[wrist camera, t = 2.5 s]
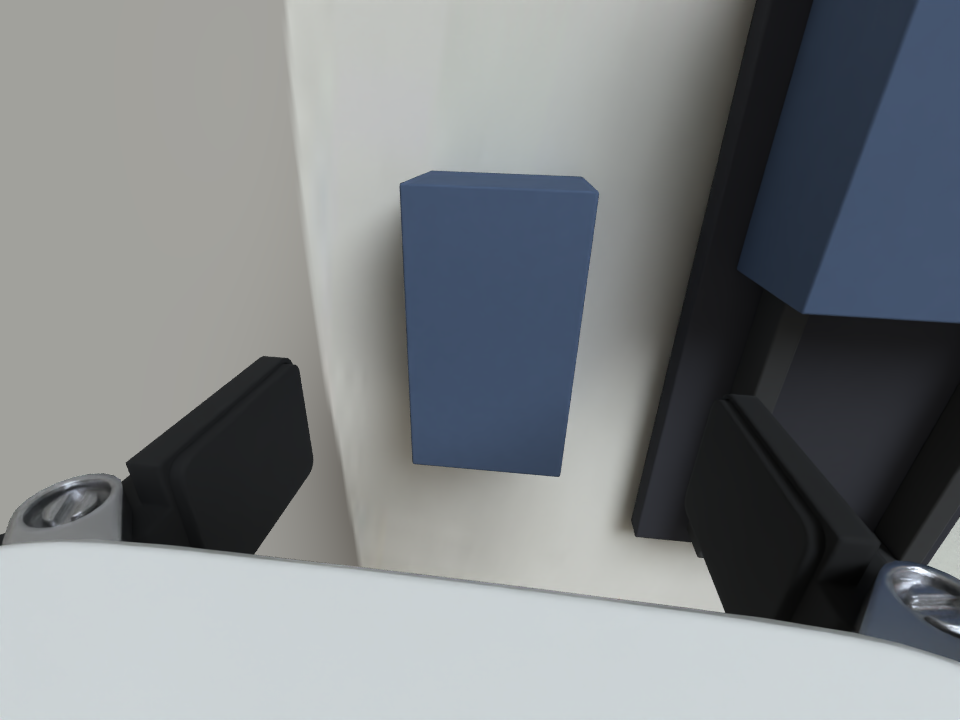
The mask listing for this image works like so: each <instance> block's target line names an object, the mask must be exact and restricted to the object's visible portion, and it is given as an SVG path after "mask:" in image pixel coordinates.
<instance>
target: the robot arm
mask: <svg viewBox="0 0 960 720" xmlns="http://www.w3.org/2000/svg"><path fill="white" fill-rule="evenodd" d="M126 465H127V468H128V470H129V473H130V475H129V476H128V477H127V478H126V479H124V480H123V481H122V482H121V480H120V479H118V478H117V477H115V476H114V475H109V474H104V473H103V474H87V475H82V476H77V477H73V478H70V479H67V480H64V481H61V482H58V483H56V484H54V485H52V486H50V487H47V488H45V489H43V490H41V491H39V492H38V493H36V494H35V495H33V496H32V497H30V498H28V499H27V500H26V501H25V502H24V503H22V504H21V505H20V506H19V507H18V508H17V509H16V510H15V512H14V513H13V515H12V517H11V518H10V521H9V524H8V527H7V530H6V533H4V534H1V535H0V720H960V580H959V579H957V578H955V577H953V576H951V575H950V574H947V573H945V572H942V571H940V570H938V569H935V568H933V567H930V566H927V565H923V564H919V563H915V562H911V561H893V562H890V563H888V562H887V561H886V560H885V558H884V557H883V556H882V555H881V554H880V552H879V551H878V548H879V546H880V544H881V542H880V541H879V540H878V539H877V538H876V536H875V535H874V534H873V533H872V532H871V530H870V529H869V528H868V527H867V526H866V525H865V523H864V522H863V521H862V520H861V519H860V517H859V516H858V515H857V514H856V513H855V512H854V510H853V509H852V508H851V507H850V506H849V505H848V503H847V502H846V501H845V500H844V499H843V497H842V496H841V495H840V494H839V493H838V492H837V490H836V489H835V488H834V487H833V486H832V484H831V483H830V482H829V481H828V480H827V479H826V477H825V476H824V475H823V474H822V473H821V471H820V470H819V469H818V468H817V467H816V466H815V464H814V463H813V462H812V461H811V460H810V459H809V457H808V456H807V455H806V454H805V453H804V451H803V450H802V449H801V448H800V447H799V446H798V444H797V443H796V442H795V441H794V440H793V438H792V437H791V436H790V435H789V434H788V433H787V431H786V430H785V429H784V428H783V427H782V425H781V424H780V423H779V422H778V421H777V420H776V418H775V417H774V416H773V415H772V414H771V413H770V411H769V410H768V409H767V408H766V407H765V405H764V404H763V403H762V402H761V401H760V400H759V398H757V397H756V396H749V395H736V394H725V395H724V396H723V397H722V399H721V400H717V399H716V400H715V401H714V402H713V404H712V406H711V409H710V413H709V416H708V420H707V423H706V426H705V430H704V433H703V437H702V440H701V443H700V447H699V450H698V454H697V457H696V460H695V464H694V467H693V471H692V474H691V478H690V481H689V484H688V488H687V491H686V495H685V511H686V514H687V517H688V519H689V522H690V524H691V527H692V529H693V532H694V534H695V537H696V539H697V542H698V544H699V547H700V550H701V552H702V555H703V557H704V560H705V562H706V565H707V567H708V570H709V572H710V575H711V577H712V580H713V583H714V585H715V588H716V590H717V593H718V595H719V598H720V600H721V603H722V605H723V608H724V610H725V613H721V612H714V611H707V610H700V609H692V608H685V607H677V606H669V605H661V604H654V603H646V602H638V601H630V600H622V599H615V598H607V597H599V596H591V595H583V594H576V593H568V592H560V591H552V590H544V589H536V588H528V587H520V586H512V585H504V584H496V583H488V582H480V581H472V580H463V579H455V578H447V577H439V576H431V575H422V574H414V573H406V572H398V571H389V570H381V569H373V568H365V567H355V566H347V565H338V564H330V563H321V562H313V561H304V560H296V559H287V558H278V557H270V556H261V555H254V554H255V552H256V551H257V549H258V548H259V546H260V545H261V543H262V542H263V541H264V539H265V538H266V536H267V535H268V533H269V532H270V531H271V529H272V528H273V526H274V524H275V523H276V522H277V520H278V519H279V517H280V516H281V514H282V513H283V512H284V510H285V509H286V507H287V506H288V504H289V503H290V501H291V500H292V498H293V497H294V496H295V494H296V493H297V491H298V490H299V488H300V487H301V485H302V484H303V482H304V481H305V480H306V478H307V477H308V475H309V474H310V472H311V469H312V466H313V453H312V447H311V441H310V434H309V428H308V422H307V416H306V409H305V403H304V397H303V390H302V384H301V378H300V372H299V368H298V367H297V366H296V365H293V364H292V362H291V360H289V359H288V358H280V357H268V356H263V357H261V358H259V359H258V360H257V361H255V362H254V363H253V364H251V365H250V366H249V367H248V368H246V369H245V370H244V371H242V372H241V373H240V374H239V375H237V376H236V377H235V378H234V379H232V380H231V381H230V382H228V383H227V384H226V385H224V386H223V387H222V388H221V389H219V390H218V391H217V392H216V393H214V394H213V395H212V396H211V397H209V398H208V399H207V400H205V401H204V402H203V403H202V404H201V405H199V406H198V407H196V408H195V409H194V410H193V411H191V412H190V413H189V414H188V415H186V416H185V417H184V418H182V419H181V420H180V421H178V422H177V423H176V424H175V425H173V426H172V427H171V428H170V429H168V430H167V431H166V432H164V433H163V434H162V435H161V436H159V437H158V438H157V439H155V440H154V441H153V442H152V443H150V444H149V445H148V446H146V447H145V448H144V449H143V450H142V451H140V452H139V453H138V454H136V455H135V456H134V457H132V458H131V459H130V460H129V461H127V462H126Z"/></svg>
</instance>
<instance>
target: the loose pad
mask: <svg viewBox="0 0 960 720" xmlns="http://www.w3.org/2000/svg"><path fill="white" fill-rule="evenodd" d="M598 198H599V192H598V191H597V190H596V189H595V188H594V187H593V186H592V185H590V184H589V183H588V182H587V181H586V180H585V179H584V178H583V177H575V176H550V175H525V174H500V173H475V172H450V171H430V172H427V173H425V174H422V175H420V176H418V177H415V178H413V179H410V180H408V181H405V182H403V183H400V204H401V226H402V247H403V268H404V290H405V311H406V332H407V354H408V375H409V397H410V418H411V439H412V461H413V464H420V465H432V466H443V467H454V468H465V469H476V470H487V471H499V472H510V473H521V474H532V475H543V476H554V477H559V476H560V473H561V466H562V458H563V451H564V444H565V437H566V429H567V422H568V415H569V408H570V400H571V393H572V386H573V379H574V372H575V364H576V357H577V350H578V343H579V335H580V328H581V321H582V314H583V306H584V299H585V292H586V285H587V278H588V270H589V263H590V256H591V249H592V241H593V234H594V227H595V220H596V212H597V205H598Z"/></svg>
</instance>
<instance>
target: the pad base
mask: <svg viewBox="0 0 960 720" xmlns="http://www.w3.org/2000/svg"><path fill="white" fill-rule="evenodd" d="M725 394H736V395H749V396H756V397H757V398H759V400H760V401H761V402H762V403H763V404H764V405H765V407H766V408H767V409H768V410H769V411H770V413H771V414H772V415H773V416H774V417H775V418H776V420H777V421H778V422H779V423H780V424H781V425H782V427H783V428H784V429H785V430H786V431H787V433H788V434H789V435H790V436H791V437H792V438H793V440H794V441H795V442H796V443H797V444H798V446H799V447H800V448H801V449H802V450H803V451H804V453H805V454H806V455H807V456H808V457H809V459H810V460H811V461H812V462H813V463H814V464H815V466H816V467H817V468H818V469H819V470H820V471H821V473H822V474H823V475H824V476H825V477H826V479H827V480H828V481H829V482H830V483H831V484H832V486H833V487H834V488H835V489H836V490H837V492H838V493H839V494H840V495H841V496H842V497H843V499H844V500H845V501H846V502H847V503H848V505H849V506H850V507H851V508H852V509H853V510H854V512H855V513H856V514H857V515H858V516H859V517H860V519H861V520H862V521H863V522H864V523H865V525H866V526H867V527H868V528H869V529H870V530H871V532H872V533H873V534H874V535H875V536H876V538H877V539H878V540H879V541H880V542H881V544H880V546H879V548H878V551H879V552H880V554H881V555H882V556H883V557H884V558H885V560H886V561H887V562H888V563H890V562H893V561H911V562H915V563H919V564H923V565H927V564H928V563H929V562H930V560H931V559H932V557H933V556H934V554H935V553H936V551H937V550H938V548H939V547H940V545H941V544H942V543H943V541H944V540H945V538H946V537H947V535H948V534H949V532H950V531H951V529H952V528H953V526H954V525H955V523H956V522H957V520H958V519H959V517H960V0H757V1H756V5H755V9H754V14H753V18H752V22H751V26H750V30H749V34H748V38H747V43H746V47H745V51H744V55H743V59H742V63H741V67H740V72H739V76H738V80H737V84H736V88H735V92H734V96H733V101H732V105H731V109H730V113H729V117H728V121H727V125H726V130H725V134H724V138H723V142H722V146H721V150H720V154H719V159H718V163H717V167H716V171H715V175H714V179H713V183H712V188H711V192H710V196H709V200H708V204H707V208H706V212H705V217H704V221H703V225H702V229H701V233H700V237H699V241H698V246H697V250H696V254H695V258H694V262H693V266H692V270H691V275H690V279H689V283H688V287H687V291H686V295H685V299H684V304H683V308H682V312H681V316H680V320H679V324H678V328H677V333H676V337H675V341H674V345H673V349H672V353H671V357H670V362H669V366H668V370H667V374H666V378H665V382H664V386H663V391H662V395H661V399H660V403H659V407H658V411H657V415H656V420H655V424H654V428H653V432H652V436H651V440H650V444H649V449H648V453H647V457H646V461H645V465H644V469H643V473H642V478H641V482H640V486H639V490H638V494H637V498H636V502H635V507H634V511H633V515H632V519H631V522H632V526H633V529H634V533H635V536H636V537H643V538H653V539H663V540H673V541H684V542H692V544H693V547H694V549H695V552H696V554H697V557H699V558H704V557H703V555H702V552H701V550H700V547H699V544H698V542H697V539H696V537H695V534H694V532H693V529H692V527H691V524H690V522H689V519H688V517H687V514H686V511H685V495H686V491H687V488H688V484H689V481H690V478H691V474H692V471H693V467H694V464H695V460H696V457H697V454H698V450H699V447H700V443H701V440H702V437H703V433H704V430H705V426H706V423H707V420H708V416H709V413H710V409H711V406H712V404H713V402H714V401H715V400H716V399H717V400H721V399H722V397H723V396H724V395H725Z"/></svg>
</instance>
